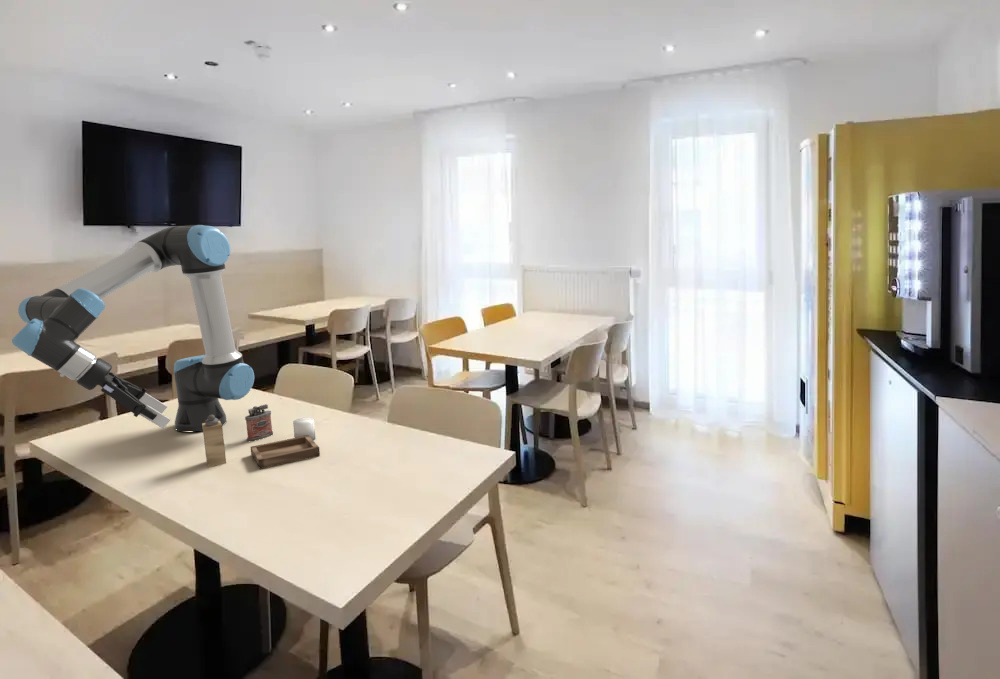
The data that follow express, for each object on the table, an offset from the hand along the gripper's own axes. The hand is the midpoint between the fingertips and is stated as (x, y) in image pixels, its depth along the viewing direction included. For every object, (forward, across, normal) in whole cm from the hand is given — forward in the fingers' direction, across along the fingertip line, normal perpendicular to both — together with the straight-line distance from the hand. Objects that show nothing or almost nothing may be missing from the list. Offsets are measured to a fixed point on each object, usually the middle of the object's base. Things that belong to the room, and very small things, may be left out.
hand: (165, 417), depth 150 cm
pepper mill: (+18, 0, -3) cm, 18 cm away
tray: (+30, +6, +9) cm, 32 cm away
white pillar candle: (+36, -4, +14) cm, 39 cm away
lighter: (+28, -14, +7) cm, 32 cm away
